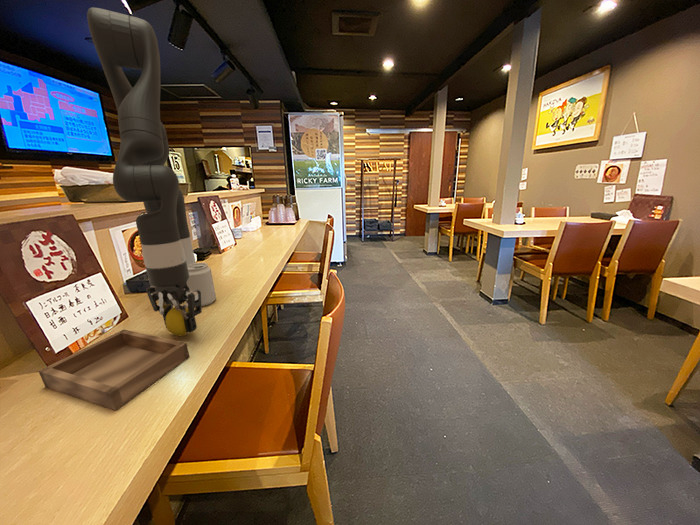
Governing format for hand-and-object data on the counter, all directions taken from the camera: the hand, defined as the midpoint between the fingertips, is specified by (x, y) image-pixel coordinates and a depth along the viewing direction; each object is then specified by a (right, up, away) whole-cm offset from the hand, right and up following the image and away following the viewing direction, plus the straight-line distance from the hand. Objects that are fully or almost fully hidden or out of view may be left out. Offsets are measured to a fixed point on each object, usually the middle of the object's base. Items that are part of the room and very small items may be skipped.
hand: (181, 328), depth 64 cm
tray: (-5, -6, -11) cm, 13 cm away
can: (-5, +3, +18) cm, 19 cm away
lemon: (0, -2, +1) cm, 2 cm away
